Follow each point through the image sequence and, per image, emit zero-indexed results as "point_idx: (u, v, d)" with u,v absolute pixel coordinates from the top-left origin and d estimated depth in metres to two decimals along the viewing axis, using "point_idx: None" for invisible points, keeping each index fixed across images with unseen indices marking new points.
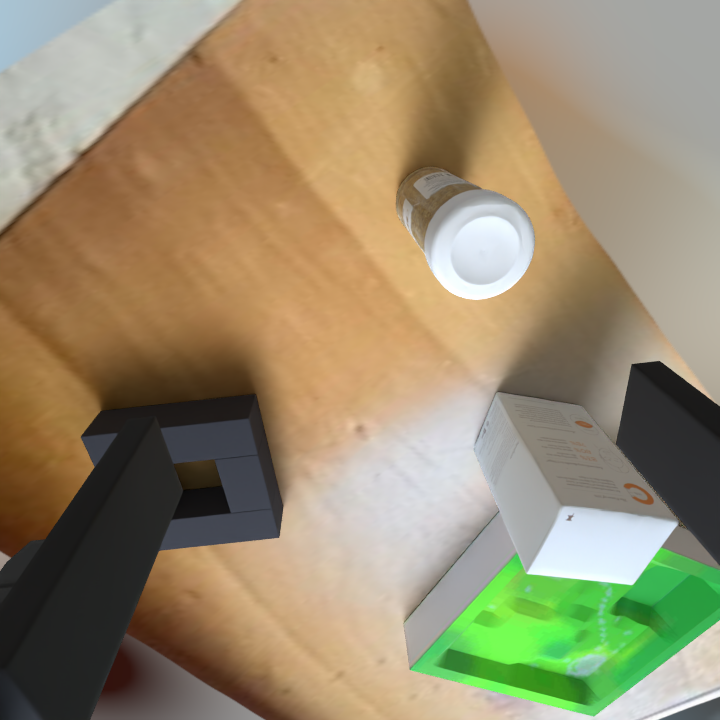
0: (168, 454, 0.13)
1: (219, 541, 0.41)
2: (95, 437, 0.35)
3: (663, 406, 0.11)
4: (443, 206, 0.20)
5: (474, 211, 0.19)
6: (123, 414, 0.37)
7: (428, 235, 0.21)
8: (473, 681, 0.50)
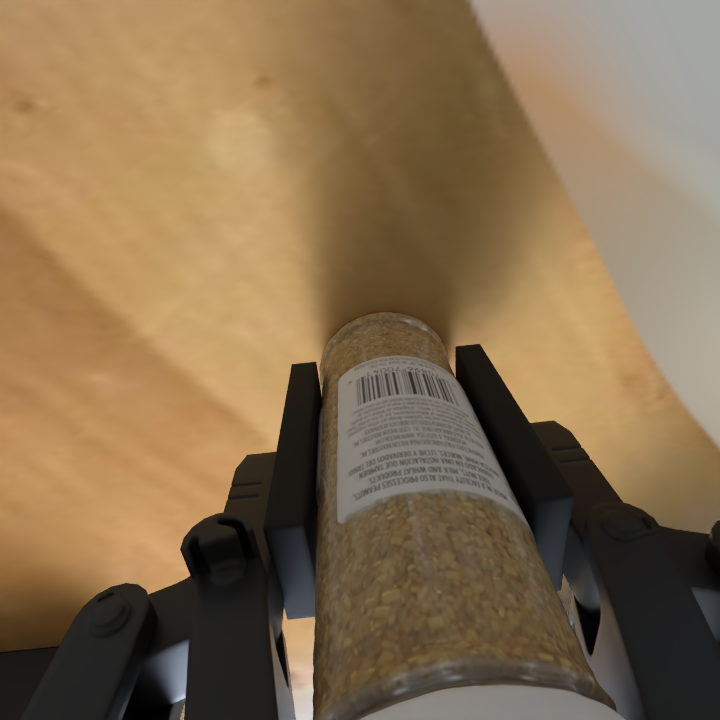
0: (320, 398, 0.15)
1: None
2: None
3: (467, 381, 0.13)
4: None
5: None
6: None
7: None
8: None
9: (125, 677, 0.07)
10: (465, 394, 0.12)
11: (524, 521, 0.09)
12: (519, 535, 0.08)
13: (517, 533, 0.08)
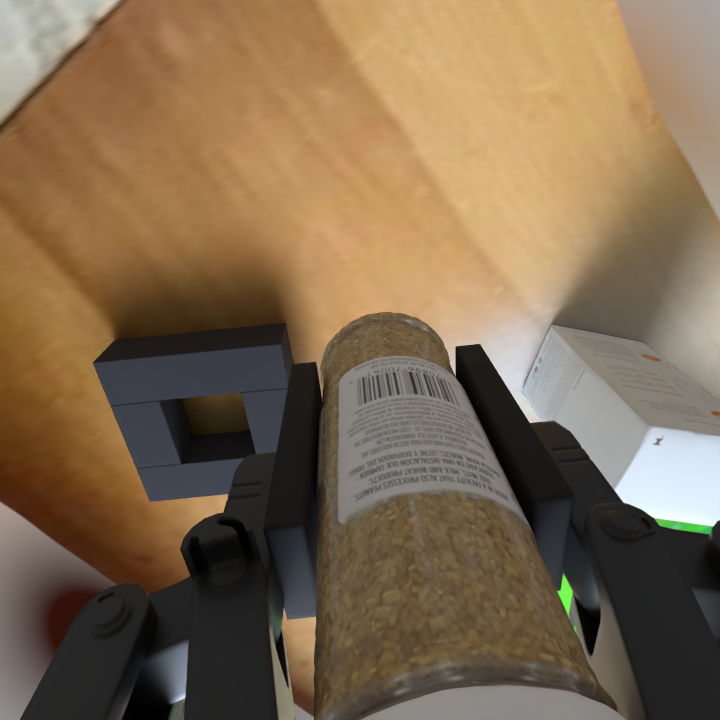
0: (320, 398, 0.15)
1: None
2: (109, 363, 0.32)
3: (467, 381, 0.13)
4: None
5: None
6: (140, 342, 0.34)
7: None
8: None
9: (125, 677, 0.07)
10: (466, 394, 0.12)
11: (525, 521, 0.09)
12: (520, 535, 0.08)
13: (518, 533, 0.08)
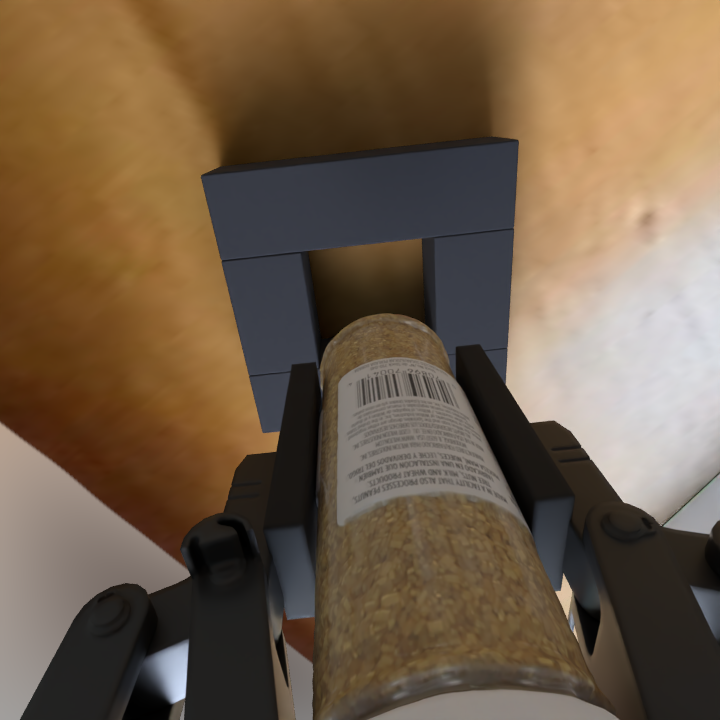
0: (320, 398, 0.15)
1: None
2: (228, 178, 0.19)
3: (467, 381, 0.13)
4: None
5: None
6: (265, 163, 0.21)
7: None
8: None
9: (125, 677, 0.07)
10: (465, 396, 0.12)
11: (524, 524, 0.08)
12: (519, 538, 0.08)
13: (517, 537, 0.08)
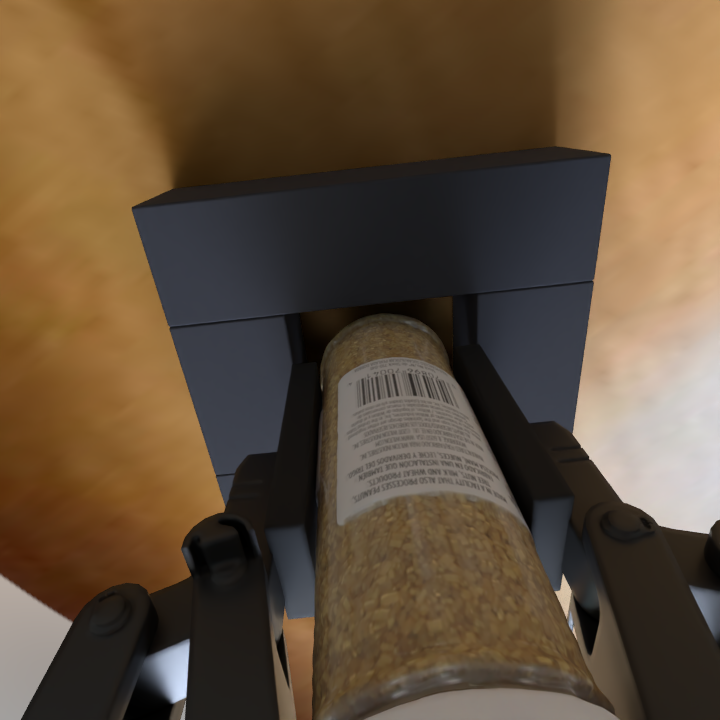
0: (320, 398, 0.15)
1: None
2: (173, 211, 0.12)
3: (467, 381, 0.13)
4: None
5: None
6: (234, 185, 0.15)
7: None
8: None
9: (126, 677, 0.07)
10: (465, 396, 0.12)
11: (524, 523, 0.09)
12: (518, 538, 0.08)
13: (517, 536, 0.08)
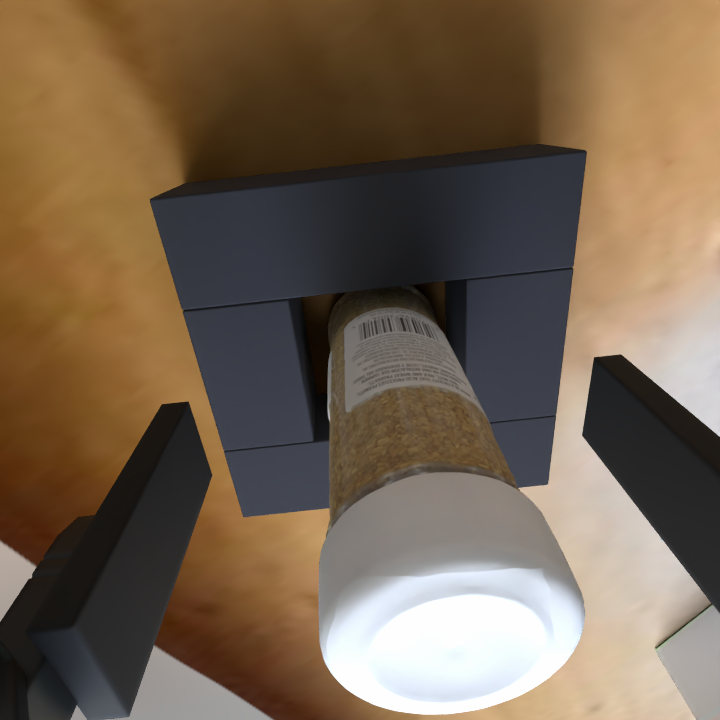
0: (198, 439, 0.14)
1: None
2: (187, 202, 0.14)
3: (620, 397, 0.12)
4: (354, 517, 0.08)
5: (425, 585, 0.07)
6: (242, 179, 0.16)
7: (320, 579, 0.08)
8: None
9: None
10: (446, 338, 0.16)
11: (483, 412, 0.12)
12: (477, 416, 0.11)
13: (475, 415, 0.11)
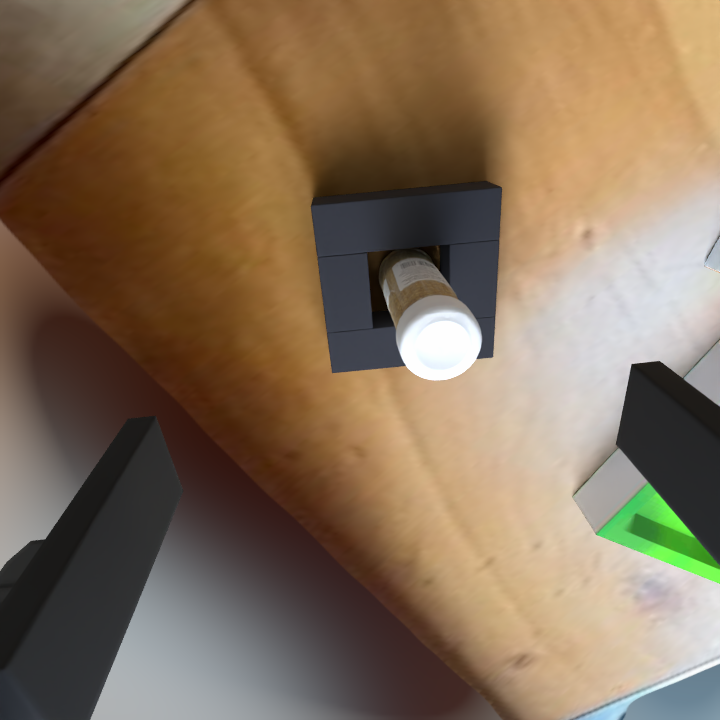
0: (168, 454, 0.13)
1: None
2: (327, 207, 0.31)
3: (663, 406, 0.11)
4: (410, 308, 0.26)
5: (433, 317, 0.24)
6: (344, 196, 0.33)
7: (398, 330, 0.26)
8: (658, 553, 0.46)
9: None
10: None
11: (454, 292, 0.29)
12: (451, 291, 0.28)
13: (451, 290, 0.28)
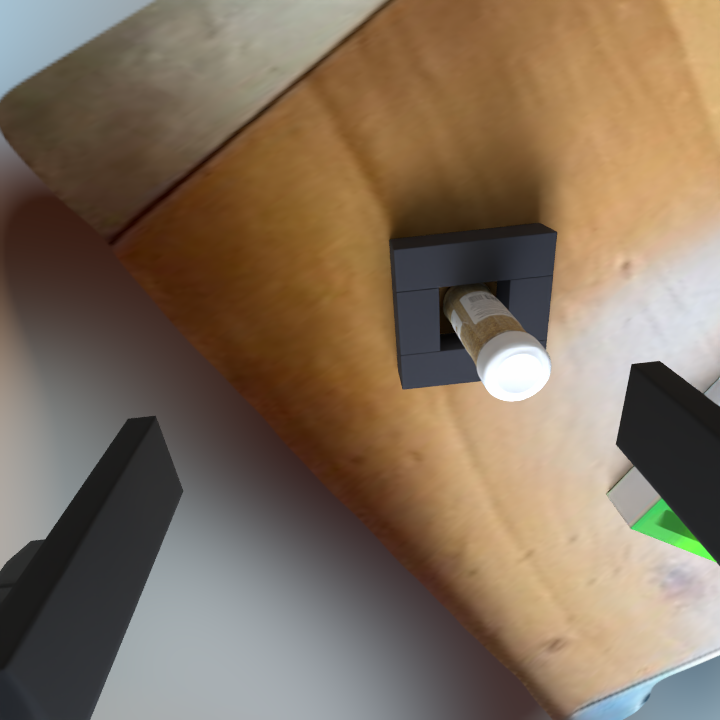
0: (168, 454, 0.13)
1: None
2: (407, 251, 0.36)
3: (663, 406, 0.11)
4: (490, 342, 0.31)
5: (513, 351, 0.30)
6: (417, 238, 0.38)
7: (480, 360, 0.31)
8: (686, 544, 0.51)
9: None
10: None
11: (520, 324, 0.34)
12: (519, 324, 0.34)
13: (518, 323, 0.34)
